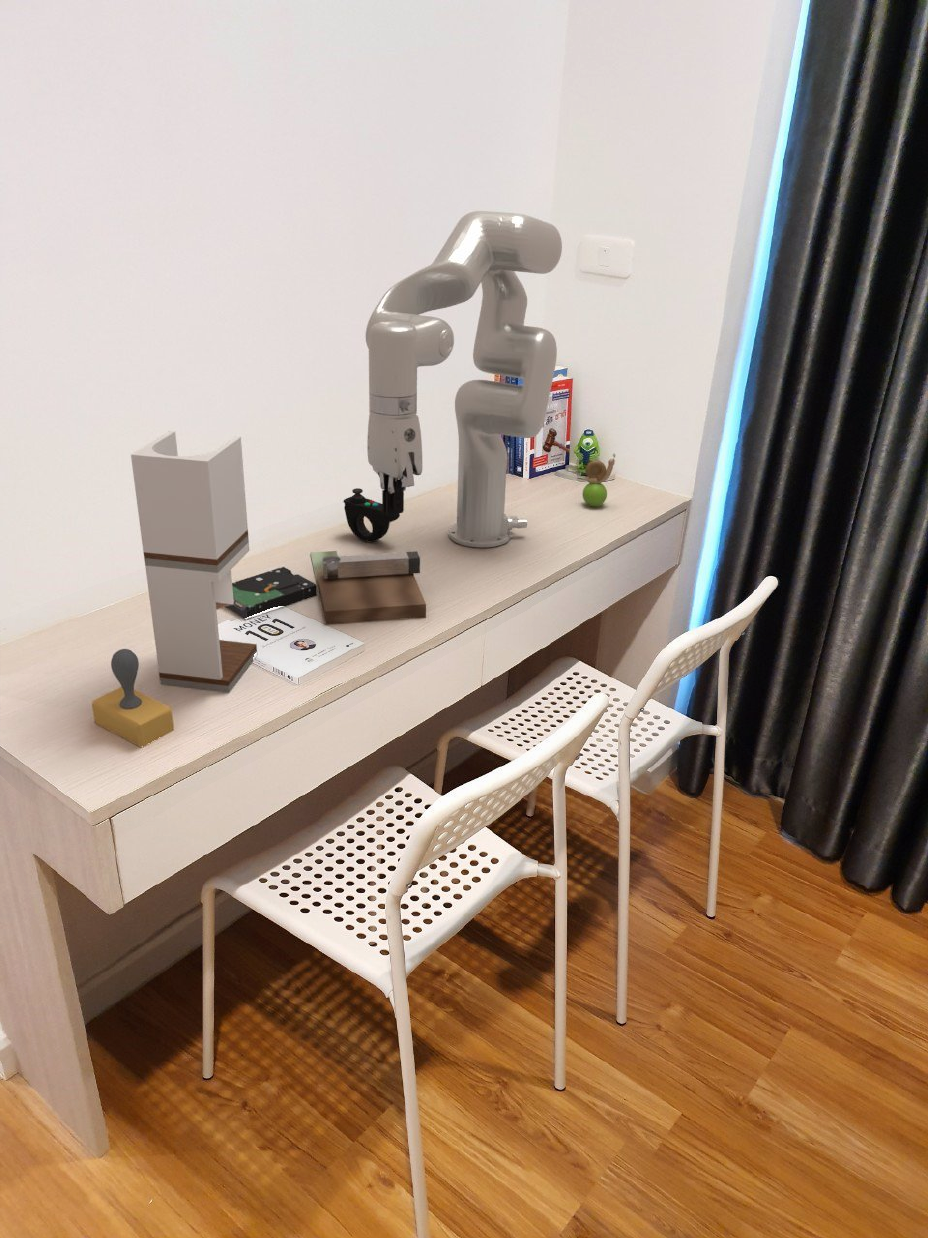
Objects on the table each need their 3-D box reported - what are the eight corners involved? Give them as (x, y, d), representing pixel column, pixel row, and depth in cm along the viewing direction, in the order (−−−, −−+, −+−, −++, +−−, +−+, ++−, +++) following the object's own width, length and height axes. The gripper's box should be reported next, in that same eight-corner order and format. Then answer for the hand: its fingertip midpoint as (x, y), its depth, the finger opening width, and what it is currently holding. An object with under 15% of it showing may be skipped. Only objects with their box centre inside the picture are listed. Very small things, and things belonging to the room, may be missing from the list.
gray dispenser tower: (229, 692, 142) (207, 461, 126) (160, 684, 143) (130, 454, 128) (257, 655, 152) (240, 436, 136) (193, 648, 154) (169, 430, 138)
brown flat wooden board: (397, 549, 192) (397, 537, 190) (425, 617, 166) (426, 604, 164) (310, 554, 188) (310, 542, 187) (325, 624, 162) (324, 611, 161)
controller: (354, 530, 200) (353, 484, 195) (402, 545, 194) (402, 497, 189) (340, 536, 196) (339, 489, 192) (389, 551, 190) (389, 503, 186)
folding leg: (323, 579, 171) (323, 563, 169) (322, 572, 173) (321, 556, 172) (419, 573, 174) (420, 558, 173) (416, 566, 177) (416, 551, 176)
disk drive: (283, 579, 179) (213, 602, 169) (282, 565, 178) (211, 587, 168) (318, 598, 172) (247, 622, 163) (317, 583, 171) (246, 607, 162)
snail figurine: (611, 510, 215) (617, 457, 209) (582, 509, 215) (587, 456, 209) (608, 501, 219) (614, 450, 214) (580, 501, 219) (584, 449, 214)
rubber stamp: (93, 724, 134) (80, 647, 128) (128, 706, 138) (117, 631, 133) (141, 749, 129) (130, 670, 124) (175, 729, 133) (166, 652, 128)
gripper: (439, 411, 151) (437, 522, 159) (387, 390, 162) (387, 496, 170) (399, 417, 147) (398, 531, 155) (348, 396, 158) (350, 503, 166)
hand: (393, 512), depth 162 cm, fingers closed
